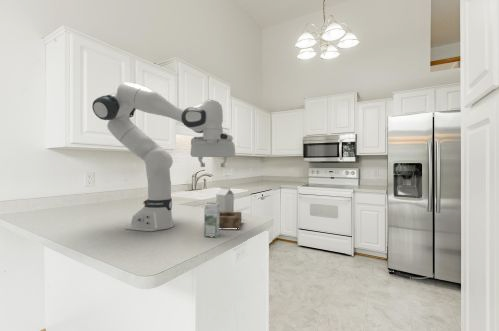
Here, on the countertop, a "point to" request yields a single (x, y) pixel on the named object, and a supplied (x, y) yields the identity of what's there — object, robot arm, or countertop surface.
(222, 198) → the milk carton
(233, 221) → the walnut caddy
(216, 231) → the syrup box
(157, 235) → the countertop surface
